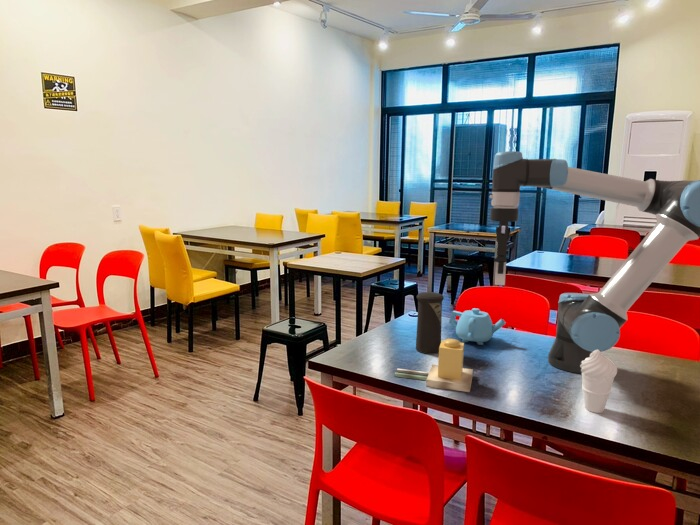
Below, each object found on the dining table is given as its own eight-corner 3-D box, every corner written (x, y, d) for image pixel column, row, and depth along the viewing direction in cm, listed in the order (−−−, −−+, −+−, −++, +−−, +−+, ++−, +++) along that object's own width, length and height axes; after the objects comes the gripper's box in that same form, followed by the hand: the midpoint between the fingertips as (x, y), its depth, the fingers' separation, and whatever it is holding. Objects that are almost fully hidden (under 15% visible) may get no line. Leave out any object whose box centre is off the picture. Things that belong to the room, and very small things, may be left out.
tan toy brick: (462, 371, 142) (464, 339, 140) (460, 380, 136) (462, 346, 134) (440, 368, 144) (442, 336, 142) (437, 377, 138) (439, 343, 136)
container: (441, 355, 161) (443, 296, 157) (413, 353, 163) (415, 295, 159) (441, 346, 169) (444, 291, 166) (415, 344, 171) (417, 289, 168)
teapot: (442, 343, 173) (444, 311, 171) (454, 330, 188) (455, 300, 186) (500, 352, 165) (502, 318, 163) (507, 338, 180) (509, 307, 178)
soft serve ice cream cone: (601, 401, 128) (607, 344, 125) (619, 417, 120) (626, 355, 117) (570, 402, 128) (575, 344, 125) (586, 417, 119) (592, 355, 117)
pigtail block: (472, 375, 144) (474, 350, 143) (469, 392, 133) (471, 364, 132) (399, 366, 151) (400, 341, 149) (391, 381, 139) (392, 355, 138)
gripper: (492, 204, 151) (488, 271, 154) (489, 209, 127) (484, 287, 131) (517, 205, 148) (512, 273, 152) (519, 209, 125) (514, 290, 129)
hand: (499, 280), depth 141 cm, fingers open, 13 cm apart
